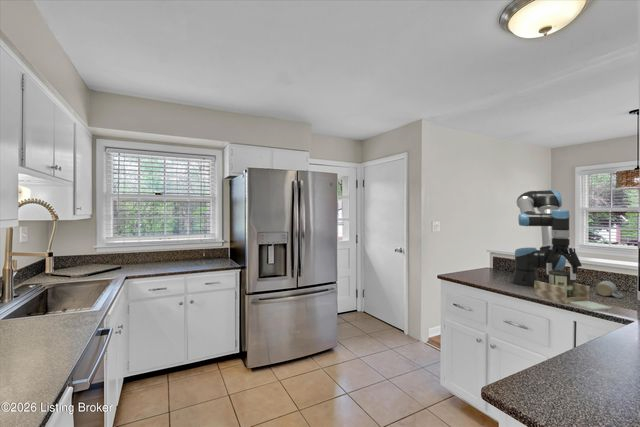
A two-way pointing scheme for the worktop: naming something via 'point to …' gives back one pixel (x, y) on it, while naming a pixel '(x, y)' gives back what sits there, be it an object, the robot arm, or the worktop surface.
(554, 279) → the coffee can
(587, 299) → the access box
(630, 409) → the worktop surface
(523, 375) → the worktop surface
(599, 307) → the trivet
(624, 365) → the worktop surface
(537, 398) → the worktop surface
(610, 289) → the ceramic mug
